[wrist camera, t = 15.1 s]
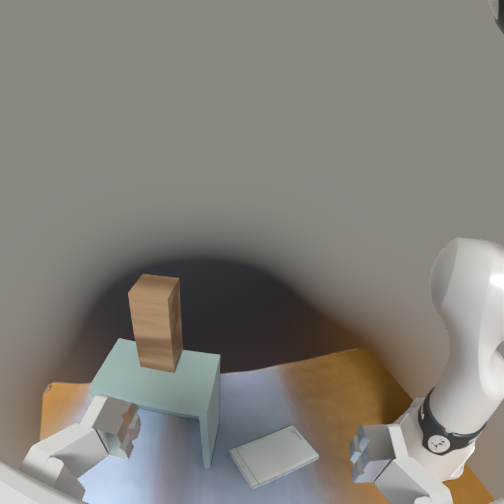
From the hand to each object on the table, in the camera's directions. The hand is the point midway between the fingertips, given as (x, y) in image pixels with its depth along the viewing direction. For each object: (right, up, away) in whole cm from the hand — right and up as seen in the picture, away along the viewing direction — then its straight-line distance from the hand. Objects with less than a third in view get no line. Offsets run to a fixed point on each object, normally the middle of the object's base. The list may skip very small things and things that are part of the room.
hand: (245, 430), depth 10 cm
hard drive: (+4, -28, +34) cm, 44 cm away
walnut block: (-12, -9, +32) cm, 36 cm away
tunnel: (-14, -25, +36) cm, 46 cm away
